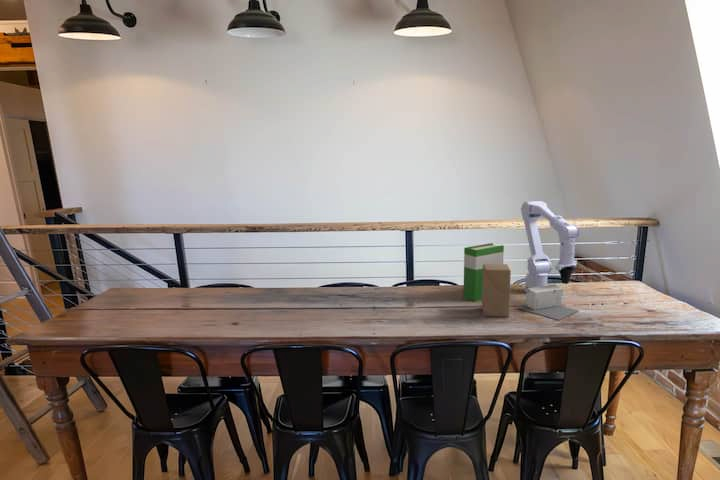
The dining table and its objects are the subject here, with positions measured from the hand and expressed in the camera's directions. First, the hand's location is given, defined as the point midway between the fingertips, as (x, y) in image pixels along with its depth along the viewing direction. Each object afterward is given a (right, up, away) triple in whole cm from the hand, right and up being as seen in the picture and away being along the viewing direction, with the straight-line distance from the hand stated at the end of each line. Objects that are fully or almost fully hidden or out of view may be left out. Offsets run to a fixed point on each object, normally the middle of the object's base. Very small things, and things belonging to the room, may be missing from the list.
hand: (565, 283), depth 190 cm
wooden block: (-33, -12, -6) cm, 35 cm away
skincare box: (-3, -5, 0) cm, 6 cm away
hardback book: (-32, -8, +15) cm, 36 cm away
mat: (-10, -11, -6) cm, 16 cm away
